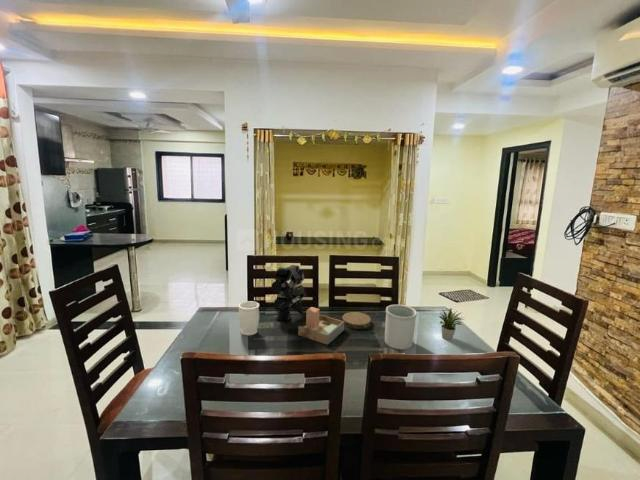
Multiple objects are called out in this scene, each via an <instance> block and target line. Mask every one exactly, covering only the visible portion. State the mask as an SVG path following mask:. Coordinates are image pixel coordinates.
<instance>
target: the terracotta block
mask: <svg viewBox="0 0 640 480" xmlns="http://www.w3.org/2000/svg"><path fill="white" fill-rule="evenodd" d="M320 311H321V310H320V308H316V307H313V306H311V307H309V308H308V309H306V313H305V314H306V315H305V318H306V319H305V326H308V327H311V328H315V327H317V326H318V325H319V314H320Z"/></svg>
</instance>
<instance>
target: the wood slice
mask: <svg viewBox="0 0 640 480" xmlns="http://www.w3.org/2000/svg"><path fill="white" fill-rule="evenodd" d="M341 318H342V320H341V321H344V327H348V328H350V329H355V330H362V329H367V328H369V327H370V326H371V322H372V319H371V316H370V315H368V314H366V313H364V312H359V311H351V312H346V313H344V314H342V317H341Z"/></svg>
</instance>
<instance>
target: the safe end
mask: <svg viewBox="0 0 640 480" xmlns="http://www.w3.org/2000/svg"><path fill="white" fill-rule="evenodd" d="M332 318H333V317H332ZM344 330H345V325H344V321H342V320H340V319H336V318H333V322H332V324H331V325H329V326H328V327H327V328H326V329H324V330H323V331H322V332H318V331H316V341H315V342H318V343H321V344H324V345H327V346H329V344H330V343H331V342H332V341H334V340H335V339H336V338H338V336H339V335H340V334H341V333H343V331H344Z"/></svg>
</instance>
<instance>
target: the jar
mask: <svg viewBox="0 0 640 480" xmlns="http://www.w3.org/2000/svg"><path fill="white" fill-rule="evenodd" d="M259 308H260V303H259V302H257V301H252V300H248V301H243V302H242V301H241V302H240V303H239V304H238V314H237V315H238V316H237V317H238V323H239V327H240V333H241V334H242V335H243V336H254V335H255V334H257V333H258V329H257V328H258V327H259V321H260V309H259Z"/></svg>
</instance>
